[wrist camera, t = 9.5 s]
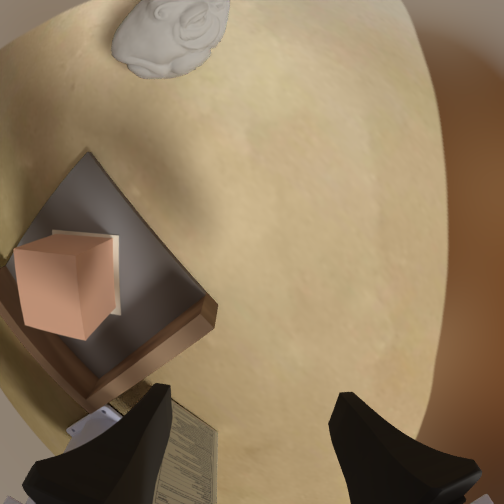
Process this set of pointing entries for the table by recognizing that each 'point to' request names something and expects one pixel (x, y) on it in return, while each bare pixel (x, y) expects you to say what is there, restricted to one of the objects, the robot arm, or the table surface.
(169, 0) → the frog figurine
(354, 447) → the robot arm
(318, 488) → the table surface
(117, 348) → the tray
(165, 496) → the skincare box
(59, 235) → the cube
